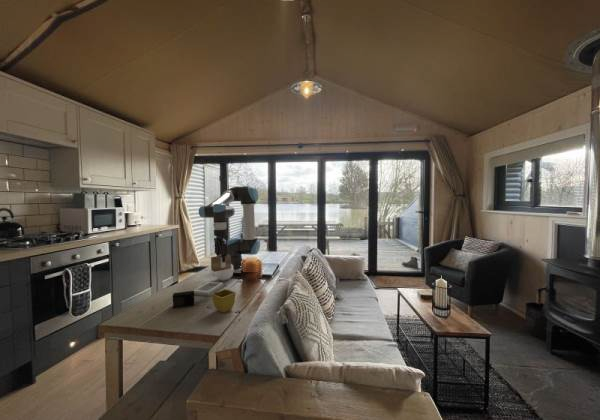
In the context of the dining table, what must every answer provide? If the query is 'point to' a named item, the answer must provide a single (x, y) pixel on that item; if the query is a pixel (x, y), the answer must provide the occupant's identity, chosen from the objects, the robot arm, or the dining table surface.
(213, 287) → the grey flat frame
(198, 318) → the dining table surface
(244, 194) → the robot arm
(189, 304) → the digital camera
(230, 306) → the flower pot
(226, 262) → the walnut block
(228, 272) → the geodesic sphere
